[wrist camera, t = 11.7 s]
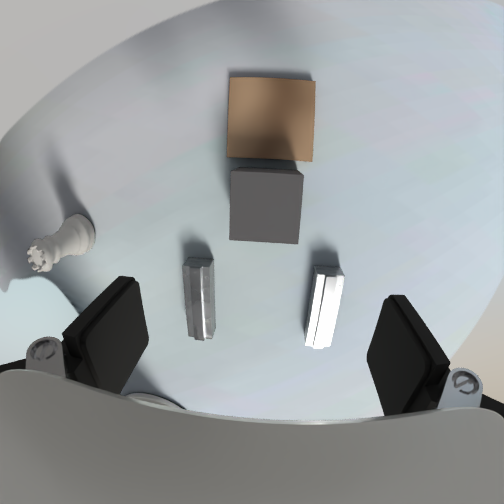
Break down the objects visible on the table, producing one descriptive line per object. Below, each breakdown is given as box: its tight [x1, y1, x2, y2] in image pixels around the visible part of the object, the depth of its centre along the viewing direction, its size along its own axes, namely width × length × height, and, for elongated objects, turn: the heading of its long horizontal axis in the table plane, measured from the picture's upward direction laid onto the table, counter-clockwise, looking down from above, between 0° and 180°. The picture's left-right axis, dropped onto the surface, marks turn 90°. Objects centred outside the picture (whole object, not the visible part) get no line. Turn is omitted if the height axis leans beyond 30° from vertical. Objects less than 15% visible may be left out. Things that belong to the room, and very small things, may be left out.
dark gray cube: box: [229, 167, 304, 244], centre depth 22 cm, size 5×5×5 cm
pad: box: [227, 77, 316, 162], centre depth 21 cm, size 7×7×1 cm
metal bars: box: [183, 257, 345, 348], centre depth 27 cm, size 14×8×2 cm, turn 88°
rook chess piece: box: [27, 214, 95, 272], centre depth 23 cm, size 4×4×8 cm
